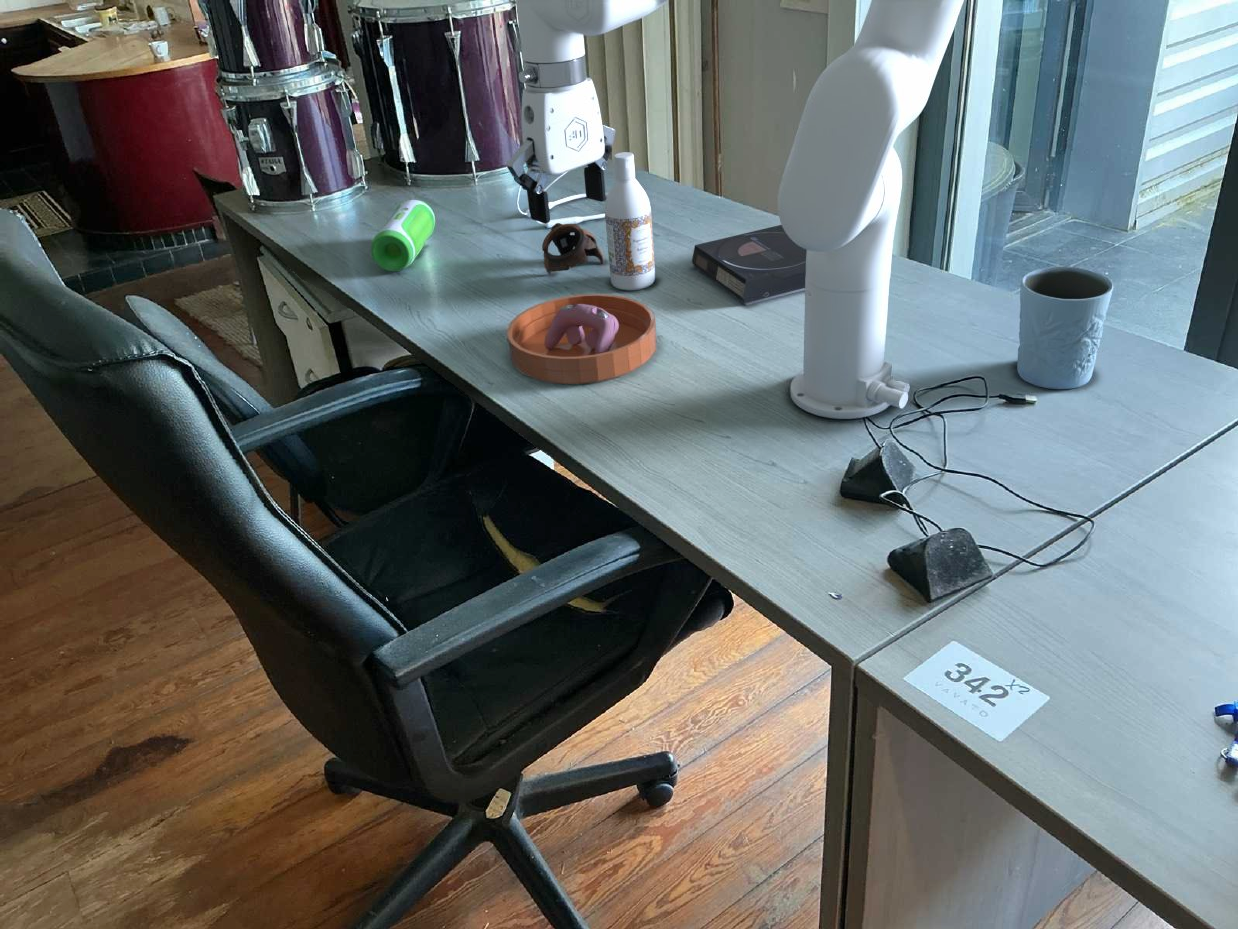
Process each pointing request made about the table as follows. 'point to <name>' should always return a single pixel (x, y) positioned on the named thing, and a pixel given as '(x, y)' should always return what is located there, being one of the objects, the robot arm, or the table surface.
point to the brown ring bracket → (569, 247)
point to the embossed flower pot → (1061, 325)
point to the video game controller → (572, 323)
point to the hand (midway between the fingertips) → (568, 209)
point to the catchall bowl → (579, 359)
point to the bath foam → (629, 229)
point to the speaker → (403, 235)
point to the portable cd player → (754, 264)
